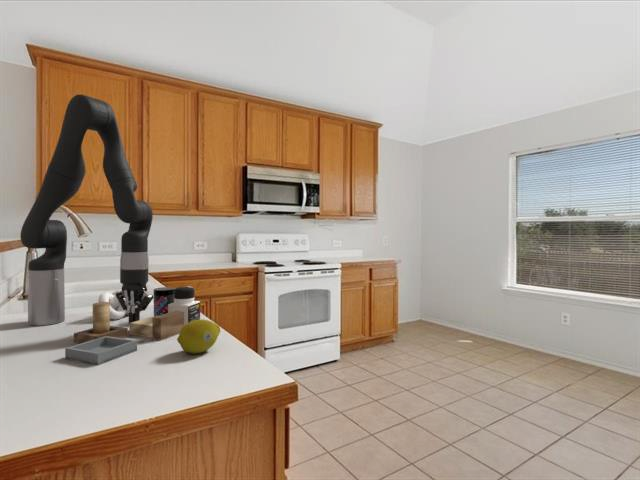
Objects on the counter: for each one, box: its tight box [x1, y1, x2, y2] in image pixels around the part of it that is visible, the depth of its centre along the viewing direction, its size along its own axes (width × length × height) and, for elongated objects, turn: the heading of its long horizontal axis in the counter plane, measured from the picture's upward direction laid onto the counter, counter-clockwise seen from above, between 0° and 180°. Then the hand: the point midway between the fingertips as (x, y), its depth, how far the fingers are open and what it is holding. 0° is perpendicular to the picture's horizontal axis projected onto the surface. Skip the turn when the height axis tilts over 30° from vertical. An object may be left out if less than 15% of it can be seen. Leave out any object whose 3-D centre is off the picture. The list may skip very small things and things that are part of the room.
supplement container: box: [152, 286, 176, 317], centre depth 123 cm, size 7×7×10 cm
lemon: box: [176, 319, 221, 355], centre depth 90 cm, size 11×8×8 cm
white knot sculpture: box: [97, 289, 131, 321], centre depth 126 cm, size 11×12×9 cm
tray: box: [64, 336, 138, 366], centre depth 88 cm, size 11×11×2 cm
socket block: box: [73, 325, 129, 344], centre depth 100 cm, size 9×9×2 cm
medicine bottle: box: [168, 286, 201, 325], centre depth 116 cm, size 7×7×12 cm
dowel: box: [92, 301, 111, 334], centre depth 100 cm, size 4×4×10 cm
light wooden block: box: [129, 316, 154, 338], centre depth 107 cm, size 10×8×4 cm
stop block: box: [152, 311, 184, 341], centre depth 104 cm, size 3×9×6 cm, turn 159°
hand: (134, 324), depth 109 cm, fingers closed
